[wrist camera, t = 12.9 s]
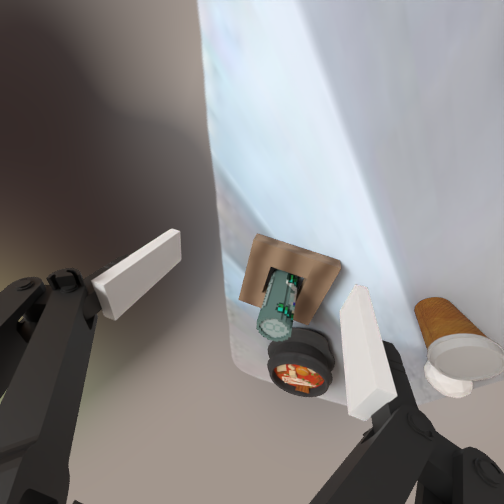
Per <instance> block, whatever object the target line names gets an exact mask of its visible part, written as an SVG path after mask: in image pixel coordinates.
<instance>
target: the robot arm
mask: <svg viewBox="0 0 504 504" xmlns="http://www.w3.org/2000/svg"><path fill="white" fill-rule="evenodd" d="M180 261H181V241H180V231H178V230H174V229H170V230H168V231H167V232H165V233H164V234H162V235H161V236H159V237H158V238H156V239H155V240H153V241H152V242H150V243H148V244H147V245H145V246H144V247H142V248H141V249H139V250H138V251H136V252H134V253H133V254H131V255H124V256H121V257H118V258H117V259H115V260H114V261H112V262H111V263H109V264H107V265H105V267H103V268H101V269H99V270H97V271H96V272H94V273H93V274H91V275H89V276H88V277H86V278H85V279H83V278H82V275H81V273H80V271H79V270H77V269H74V268H66V269H62V270H58V271H56V272H54V273H52V274H50V275H49V276H48V277H47V281H48V282H49V284H50V285H44V283H43V282H42V280H41V279H40V278H38V277H27V278H23V279H19V280H17V281H15V282H13V283H11V284H10V285H8V286H7V287H6V288H5V289H4V290H3V291H1V292H0V398H1V397H2V395H3V394H4V393H5V391H6V390H7V391H6V393H5V395H4V398H3V400H2V402H1V404H0V504H66V501H67V496H68V490H69V482H70V475H69V468H68V462H69V456H70V451H71V446H72V441H73V436H74V432H75V426H76V422H77V417H78V412H79V407H80V402H81V397H82V392H83V387H84V382H85V377H86V372H87V368H88V363H89V358H90V353H91V348H92V343H93V338H94V332H95V328H96V323H97V313H98V312H99V311H100V310H101V309H102V311H103V314H104V316H105V317H108V318H110V319H113V320H116V319H118V318H119V316H121V315H122V314H123V313H124V312H125V311H126V310H127V309H128V308H129V307H131V306H132V305H133V304H134V303H135V302H136V301H137V300H138V299H139V298H140V297H141V296H143V295H144V294H145V293H146V292H147V291H148V290H149V289H150V288H151V287H152V286H154V285H155V284H156V283H157V282H158V281H159V280H160V279H161V278H162V277H163V276H164V275H165V274H167V273H168V272H169V271H170V270H171V269H172V268H173V267H174V266H175V265H176V264H177V263H178V262H180ZM339 312H340V324H341V336H342V347H343V359H344V370H345V382H346V393H347V405H348V415H350V416H353V417H355V418H358V419H360V420H363V421H366V420H368V419H369V418H370V417H371V418H372V424H373V427H372V428H371V429H369V430H368V431H367V432H365V433H364V434H363V436H364V437H363V438H362V439H361V441H360V442H359V443H358V444H357V446H356V447H355V448H354V449H353V451H352V452H351V453H350V454H349V455H348V457H347V458H346V459H345V460H344V462H343V463H342V464H341V465H340V467H339V468H338V469H337V470H336V471H335V472H334V474H333V475H332V476H331V477H330V479H329V480H328V481H327V482H326V484H325V485H324V486H323V487H322V488H321V490H320V491H319V492H318V493H317V495H316V496H315V497H314V498H313V500H312V501H311V502H310V503H309V504H405V502H406V500H407V499H408V497H409V495H410V493H411V491H412V489H413V487H414V485H415V483H416V481H418V482H417V490H416V497H415V504H504V473H503V472H502V471H501V469H500V468H499V467H498V466H497V465H496V463H495V462H494V461H493V460H491V459H490V458H489V457H488V456H487V455H486V454H485V453H483V452H481V451H480V450H478V449H476V448H473V447H467V448H464V449H461V448H459V447H458V446H456V445H455V444H453V443H452V442H450V441H449V440H448V439H446V438H445V437H443V436H442V435H440V434H439V433H438V432H436V431H435V429H434V427H433V425H432V423H431V421H430V420H429V419H428V418H427V417H426V416H425V414H423V413H422V412H421V411H420V410H419V409H418V407H417V404H416V401H415V398H414V395H413V392H412V389H411V386H410V383H409V380H408V377H407V375H406V374H405V373H406V372H405V369H404V366H403V363H402V360H401V357H400V354H399V352H398V351H397V350H396V348H395V347H394V345H393V344H392V343H389V342H386V341H383V340H382V338H381V335H380V331H379V327H378V324H377V320H376V317H375V313H374V309H373V306H372V302H371V299H370V295H369V291H368V288H367V287H364V286H360V285H357V284H355V286H354V288H353V289H352V291H351V293H350V294H349V296H348V298H347V299H346V301H345V303H344V305H343V306H342V308H341V310H340V311H339ZM22 316H23V317H24V318H23V319H22V320H21V321H20V322H18V320H19V319H20V318H21V317H22ZM7 388H8V389H7ZM73 504H82V503H80V502H78V501H76V500H75V501H74V502H73Z"/></svg>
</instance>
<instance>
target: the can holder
mask: <svg viewBox="0 0 504 504" xmlns="http://www.w3.org/2000/svg"><path fill="white" fill-rule="evenodd" d="M270 267H274V268H277V269H279V270H282V271H285V272H288V273H291V274H294V275H297V276H300V277H303V278H304V279H303V282H302V284H301V286H300V288H299V290H298V292H297V295H296V302H295V310H294V317H293V320H295V321H297V322H300V323H303V324H306V325H309V323H310V321H311V319H312V318H313V316H314V314H315V313H316V311H317V309H318V307H319V306H320V304H321V302H322V301H323V299H324V297H325V295H326V294H327V292H328V290H329V289H330V287H331V285H332V283H333V282H334V280H335V278H336V277H337V275H338V273H339V271H340V270H341V264H340V260H337V259H334V258H331V257H328V256H325V255H322V254H319V253H316V252H313V251H310V250H307V249H304V248H300V247H297V246H294V245H291V244H288V243H285V242H282V241H279V240H276V239H273V238H270V237H267V236H264V235H261V234H257V235H256V236H255V238H254V240H253V244H252V248H251V252H250V256H249V260H248V264H247V268H246V272H245V276H244V280H243V284H242V288H241V292H240V296H239V300H241V301H243V302H246V303H249V304H251V305H254V306H257V307H260V308H261V307H262V304H263V301H264V298H265V295H266V292H267V288H268V286H267V285H265V282H266V279H267V276H268V273H269V270H270Z"/></svg>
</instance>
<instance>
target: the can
mask: <svg viewBox="0 0 504 504" xmlns="http://www.w3.org/2000/svg"><path fill="white" fill-rule="evenodd" d="M298 280H299V277H297V275H294V274H291V273H288V272H285V271H282V270H279V269H276V270H274V272H273V273H272V276H271V279H270V282H269V285H268V288H267V292H266V295H265V298H264V301H263V304H262V307H261V310H260V313H259V316H258V319H257V330H259V333H261V335H263V337H266V338H267V339H268V340H272V341H276V342H278V341H282V342H283V340H284V341H285V339H286V340H288V337H291V332H292V325H293V317H294V310H295V302H296V295H297V287H298Z"/></svg>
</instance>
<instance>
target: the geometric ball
mask: <svg viewBox="0 0 504 504" xmlns="http://www.w3.org/2000/svg"><path fill="white" fill-rule="evenodd" d="M424 371H425V377H426V379H427V380H428V381H429V383H430V384H431V385H432V386H433V387H434V388H435V389H436V390H437V391H439V392H440V393H442V394H443V395H445V396H449V397H454V398H462V397H464V396H467V395H470V394H471V391H472V389H473V382H472V381H463V380H456V379H452V378H449V377H447V376H445V375H443V374H441V373H440V372H439V371H438V370H437V369H436V368H435V367H434V366H432V365H431V364H430V362H429V361H427V362H426V364H425V366H424Z"/></svg>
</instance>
